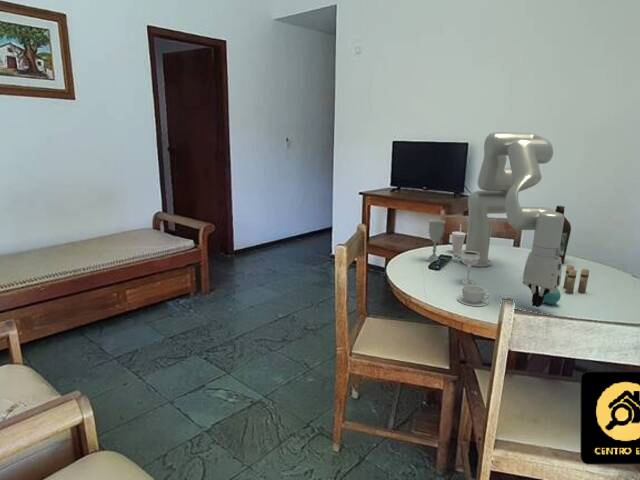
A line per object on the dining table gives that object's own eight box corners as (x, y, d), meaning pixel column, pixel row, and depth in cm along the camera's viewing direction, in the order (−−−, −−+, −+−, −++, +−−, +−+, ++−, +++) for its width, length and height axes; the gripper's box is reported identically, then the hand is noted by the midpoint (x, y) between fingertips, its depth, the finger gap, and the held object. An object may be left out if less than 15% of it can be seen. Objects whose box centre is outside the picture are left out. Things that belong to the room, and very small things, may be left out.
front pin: (567, 293, 152) (570, 271, 150) (563, 291, 155) (567, 269, 153) (574, 294, 152) (578, 271, 150) (571, 291, 154) (575, 269, 152)
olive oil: (537, 256, 197) (545, 203, 191) (563, 259, 194) (572, 205, 187) (539, 263, 188) (548, 207, 181) (567, 266, 184) (576, 209, 178)
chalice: (443, 260, 190) (446, 220, 185) (440, 264, 184) (444, 223, 179) (426, 257, 193) (429, 219, 188) (423, 261, 187) (426, 221, 182)
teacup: (453, 302, 143) (454, 289, 142) (461, 293, 151) (463, 281, 150) (484, 309, 138) (485, 296, 137) (491, 300, 146) (492, 287, 145)
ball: (543, 306, 141) (545, 289, 140) (536, 299, 147) (538, 282, 145) (562, 307, 140) (565, 290, 139) (554, 300, 146) (557, 283, 145)
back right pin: (579, 293, 153) (583, 270, 151) (576, 290, 155) (580, 268, 153) (586, 293, 153) (590, 271, 151) (583, 291, 155) (587, 268, 153)
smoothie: (464, 255, 198) (467, 225, 194) (450, 254, 199) (453, 225, 195) (463, 251, 204) (466, 223, 200) (449, 250, 205) (451, 222, 202)
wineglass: (457, 284, 160) (461, 253, 157) (458, 278, 167) (461, 248, 164) (476, 286, 158) (480, 255, 155) (477, 280, 164) (480, 250, 161)
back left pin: (564, 289, 157) (568, 267, 155) (561, 286, 159) (565, 265, 157) (572, 289, 157) (575, 267, 154) (568, 287, 159) (572, 265, 157)
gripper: (576, 254, 130) (566, 310, 134) (527, 244, 141) (520, 296, 146) (565, 258, 125) (555, 316, 130) (516, 247, 136) (508, 301, 141)
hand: (536, 305), depth 138 cm, fingers closed
